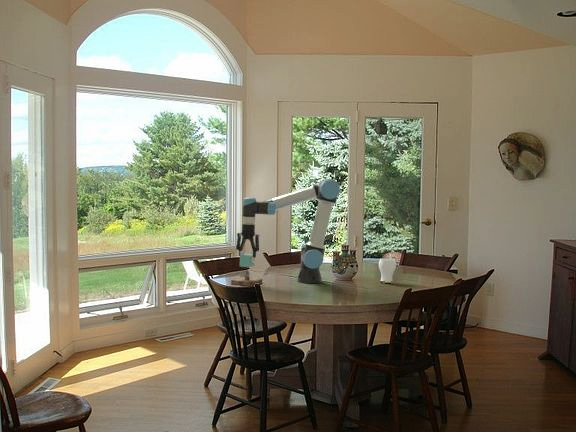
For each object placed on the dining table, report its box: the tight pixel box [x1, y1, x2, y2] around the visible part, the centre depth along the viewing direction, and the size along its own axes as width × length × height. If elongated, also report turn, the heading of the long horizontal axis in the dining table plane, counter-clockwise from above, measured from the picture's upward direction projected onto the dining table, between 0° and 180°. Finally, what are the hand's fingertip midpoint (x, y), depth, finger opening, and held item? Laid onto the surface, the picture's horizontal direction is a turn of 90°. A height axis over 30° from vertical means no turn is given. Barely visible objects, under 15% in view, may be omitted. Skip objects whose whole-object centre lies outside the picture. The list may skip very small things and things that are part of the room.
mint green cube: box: [239, 253, 256, 268], centre depth 371 cm, size 7×7×7 cm
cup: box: [378, 257, 397, 282], centre depth 391 cm, size 11×11×15 cm
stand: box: [230, 270, 263, 287], centre depth 371 cm, size 14×14×8 cm
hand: (247, 262), depth 371 cm, fingers closed on mint green cube, 7 cm apart
